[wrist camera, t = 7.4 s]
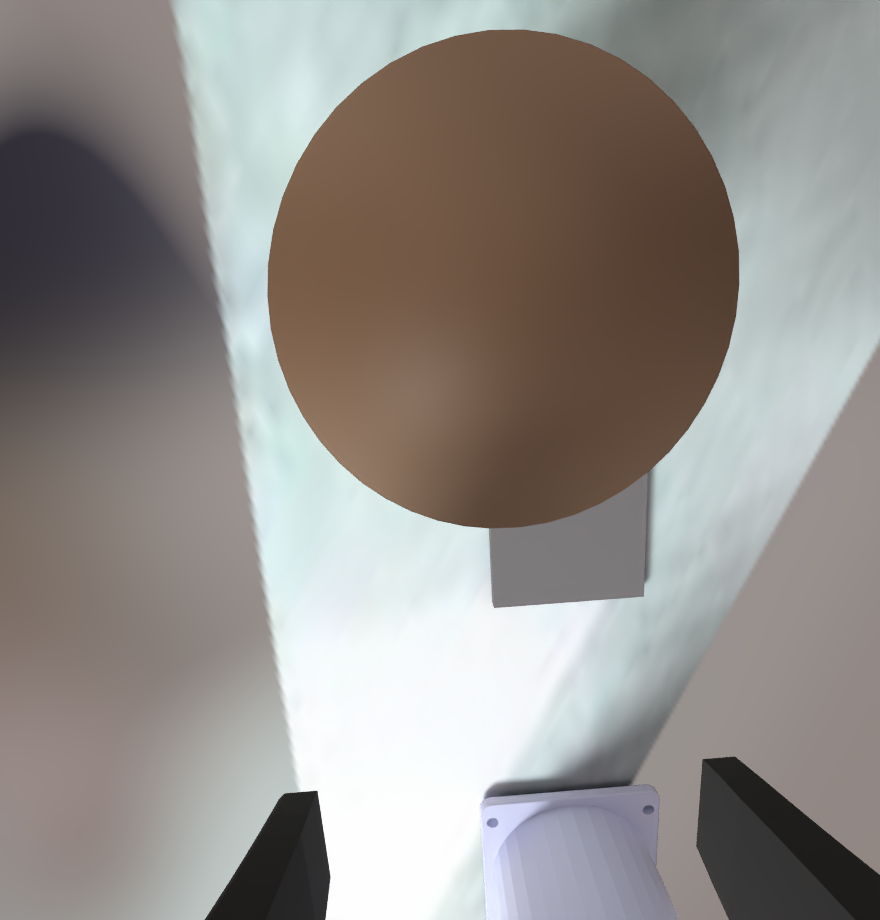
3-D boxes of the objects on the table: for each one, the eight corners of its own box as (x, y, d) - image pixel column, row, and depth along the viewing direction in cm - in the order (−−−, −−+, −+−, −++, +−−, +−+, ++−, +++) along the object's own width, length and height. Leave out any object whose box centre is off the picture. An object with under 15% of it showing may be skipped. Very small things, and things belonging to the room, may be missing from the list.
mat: (638, 590, 19) (643, 596, 19) (492, 601, 19) (494, 607, 19) (643, 420, 18) (649, 423, 17) (484, 432, 18) (486, 434, 17)
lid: (628, 455, 9) (729, 506, 6) (347, 483, 9) (307, 548, 6) (626, 138, 8) (751, 6, 5) (302, 169, 8) (224, 53, 5)
